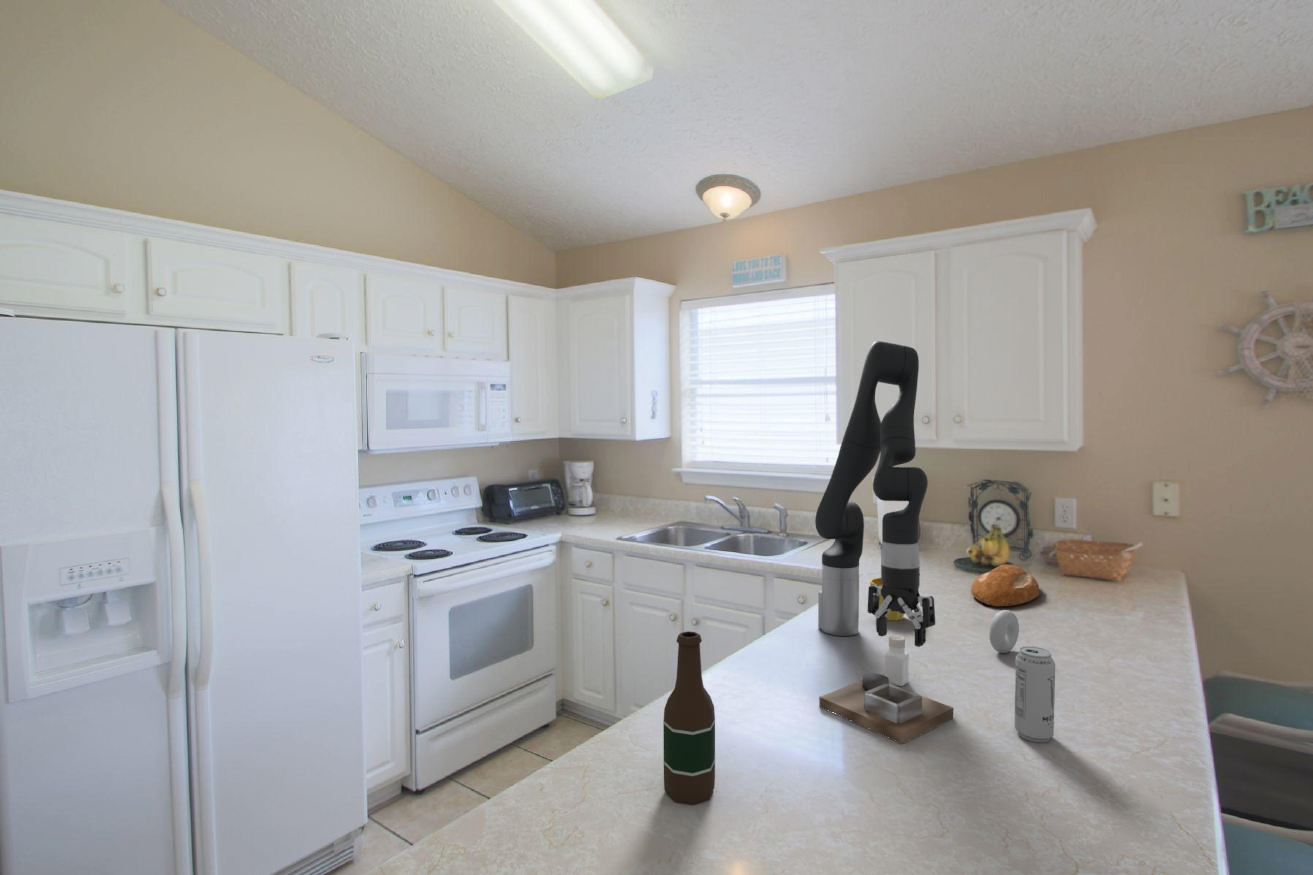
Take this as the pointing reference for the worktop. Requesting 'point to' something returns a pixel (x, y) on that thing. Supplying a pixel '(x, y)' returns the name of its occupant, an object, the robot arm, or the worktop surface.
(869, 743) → the worktop surface
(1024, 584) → the bread
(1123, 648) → the worktop surface
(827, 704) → the carrier board
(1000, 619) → the donut
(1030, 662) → the energy drink can
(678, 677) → the beer bottle
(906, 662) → the salt shaker
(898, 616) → the plant pot
